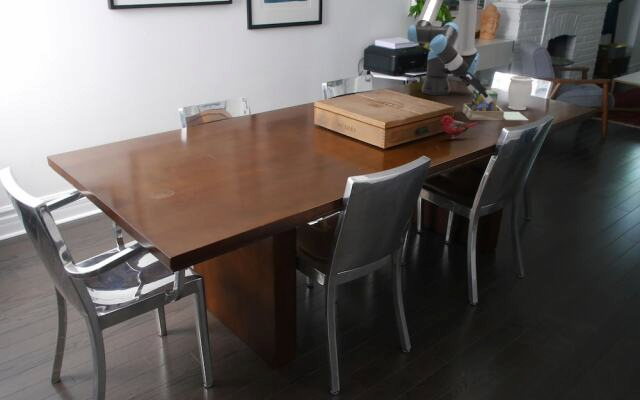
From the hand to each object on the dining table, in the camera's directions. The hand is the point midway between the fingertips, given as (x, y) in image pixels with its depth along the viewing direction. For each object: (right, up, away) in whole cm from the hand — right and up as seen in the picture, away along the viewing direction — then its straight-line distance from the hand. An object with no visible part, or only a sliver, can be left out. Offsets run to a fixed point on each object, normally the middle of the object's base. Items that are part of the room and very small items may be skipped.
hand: (483, 98), depth 240 cm
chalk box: (0, -8, +4) cm, 9 cm away
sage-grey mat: (+14, -8, +4) cm, 17 cm away
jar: (+22, -2, +18) cm, 28 cm away
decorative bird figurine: (-19, -22, -29) cm, 41 cm away
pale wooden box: (0, -7, +4) cm, 9 cm away
